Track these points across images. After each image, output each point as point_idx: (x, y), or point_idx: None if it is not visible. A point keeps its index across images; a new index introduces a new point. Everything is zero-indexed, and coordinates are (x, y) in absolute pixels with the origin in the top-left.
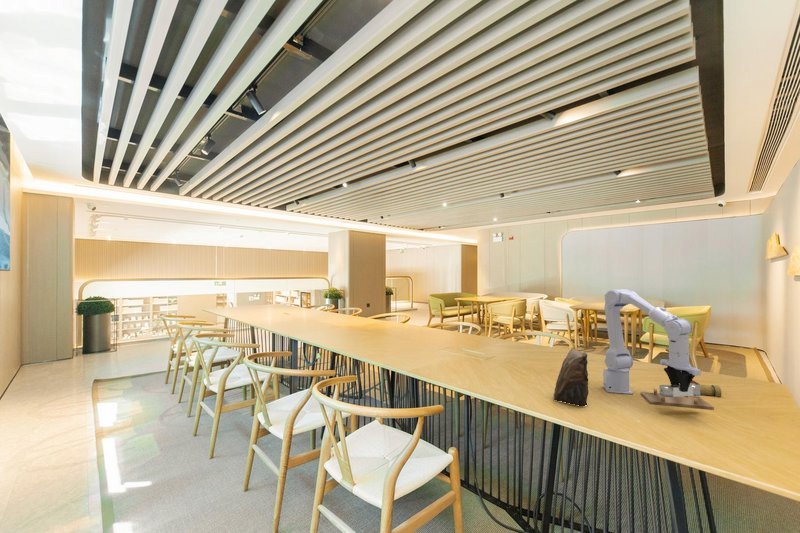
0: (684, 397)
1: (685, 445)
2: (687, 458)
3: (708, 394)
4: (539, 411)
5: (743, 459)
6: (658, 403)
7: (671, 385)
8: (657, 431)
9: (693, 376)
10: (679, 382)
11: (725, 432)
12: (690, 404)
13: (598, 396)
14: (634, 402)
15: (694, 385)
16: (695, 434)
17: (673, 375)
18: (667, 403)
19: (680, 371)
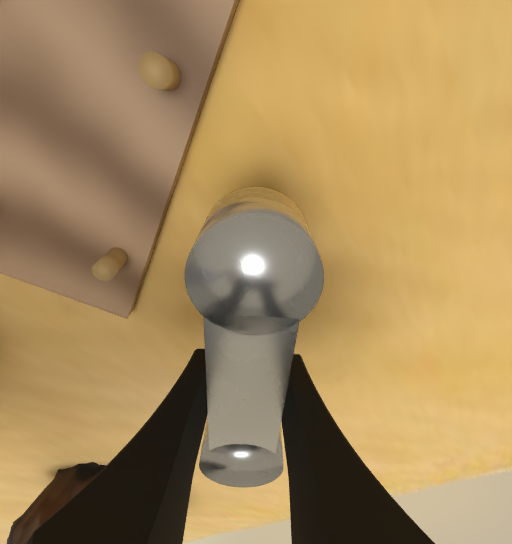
0: (10, 15)
1: (449, 442)
2: (485, 473)
3: None
4: (191, 541)
5: None
6: (140, 287)
7: (226, 433)
8: (361, 442)
9: (415, 541)
10: (288, 474)
11: (479, 276)
12: (178, 135)
13: (57, 418)
14: (116, 354)
15: (264, 273)
16: (425, 379)
17: (182, 511)
18: (149, 255)
19: (153, 533)
